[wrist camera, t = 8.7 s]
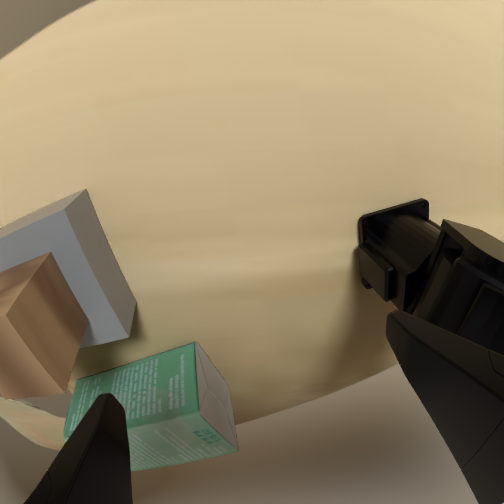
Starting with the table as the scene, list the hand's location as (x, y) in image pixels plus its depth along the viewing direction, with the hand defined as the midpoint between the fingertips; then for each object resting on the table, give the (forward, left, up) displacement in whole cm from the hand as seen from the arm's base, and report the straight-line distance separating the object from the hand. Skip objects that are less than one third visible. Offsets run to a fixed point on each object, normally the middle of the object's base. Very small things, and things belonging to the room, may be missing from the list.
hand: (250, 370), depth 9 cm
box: (+11, +14, -13) cm, 22 cm away
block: (+12, 0, -9) cm, 15 cm away
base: (+12, 0, -13) cm, 18 cm away
